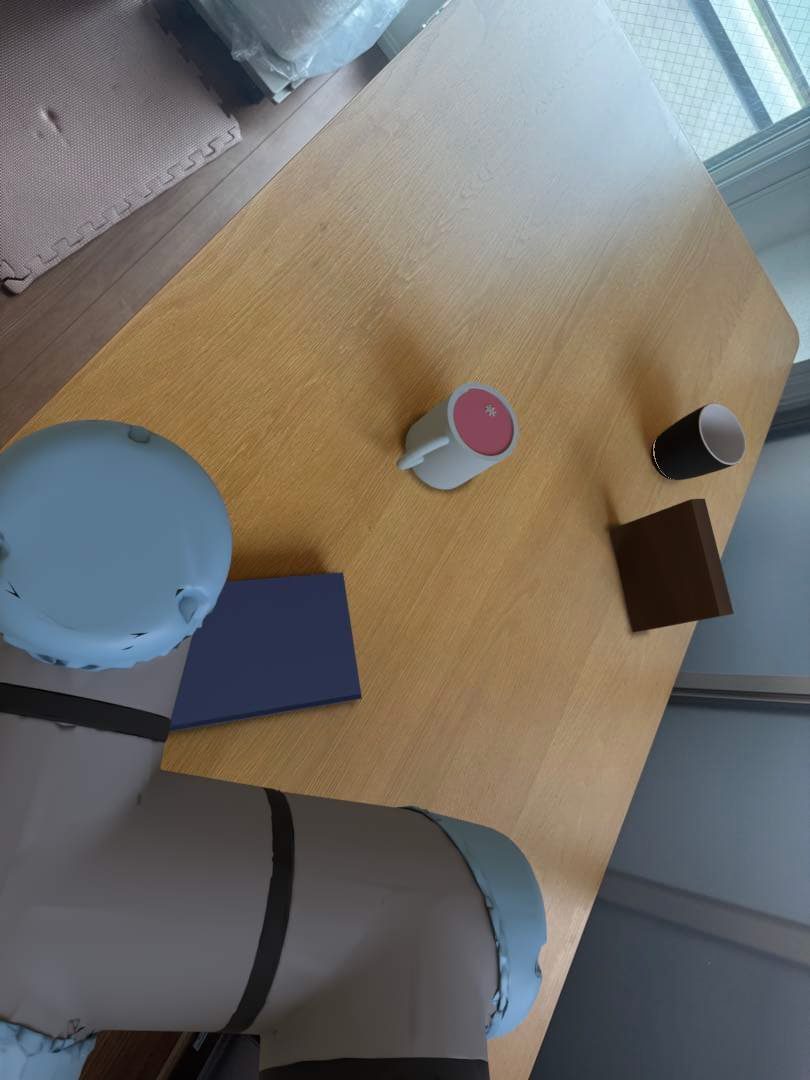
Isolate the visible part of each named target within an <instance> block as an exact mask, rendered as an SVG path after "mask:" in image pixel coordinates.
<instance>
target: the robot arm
mask: <svg viewBox="0 0 810 1080" xmlns="http://www.w3.org/2000/svg"><path fill="white" fill-rule="evenodd" d="M219 490H220V489H219V488H218V487H217V485H216V484H215V482H214V481H213V479H212V478H211V476H210V474H209V473H208V472H207V471H206V469H205V468H204V467H203V466H202V465H201V464H200V463H199V462H198V461H197V460H196V459H195V458H194V457H193V456H192V455H191V454H190V453H188V452H187V451H186V450H184V449H183V448H182V447H180V446H179V445H178V444H176V443H175V442H173V441H172V440H170V439H169V438H166V437H165V436H162V435H161V434H159V433H156V432H154V431H152V430H149V429H147V428H145V427H144V426H142V425H135V424H131V423H126V422H122V421H116V420H111V419H109V420H108V419H79V420H71V421H70V420H69V421H65V422H59V423H55V424H53V425H49V426H46V427H44V428H42V429H39V430H35V431H34V432H31V433H30V434H27V435H25V436H23V437H21V438H19V439H18V440H16V441H15V442H13V443H11V444H10V445H9V446H8V447H6V448H5V449H4V450H3V451H1V452H0V1080H79V1079H80V1076H81V1073H82V1071H83V1067H84V1065H85V1063H86V1060H87V1058H88V1056H89V1054H91V1052H92V1051H93V1050H94V1049H95V1046H96V1042H97V1039H98V1038H97V1037H98V1032H101V1031H135V1032H136V1031H143V1032H144V1031H145V1032H146V1031H147V1032H188V1033H189V1032H191V1033H192V1032H194V1033H196V1032H197V1033H212V1034H213V1033H215V1034H234V1035H235V1034H236V1035H238V1034H241V1035H242V1034H243V1035H259V1037H260V1040H259V1063H258V1064H259V1066H258V1067H259V1068H258V1079H257V1080H491V1076H490V1065H489V1054H488V1053H489V1051H488V1040H493V1039H498V1038H500V1037H504V1036H506V1035H508V1034H509V1033H511V1032H513V1031H514V1030H515V1029H517V1027H518V1026H519V1025H521V1024H522V1023H523V1022H524V1021H525V1019H526V1018H527V1016H528V1015H529V1013H530V1011H531V1010H532V1008H533V1006H534V1004H535V1003H536V1002H535V1001H536V1000H537V997H538V995H539V992H540V989H541V986H542V982H543V973H542V969H541V965H540V963H539V958H540V954H541V951H542V948H543V947H544V946H545V945H546V944H547V942H548V928H547V915H546V910H545V909H546V908H545V903H544V902H545V901H544V897H543V894H542V891H541V887H540V885H539V882H538V880H537V877H536V875H535V872H534V870H533V868H532V865H531V863H530V862H529V860H528V858H527V857H526V855H525V853H523V851H522V850H521V849H520V848H519V846H518V845H517V844H516V843H515V842H514V841H513V840H512V839H511V838H510V837H509V836H507V835H505V834H504V833H503V832H500V831H498V830H496V829H495V828H492V827H490V826H486V825H482V824H480V823H475V822H471V821H468V820H463V819H460V818H457V817H456V818H455V817H453V816H448V815H444V814H440V813H436V812H432V811H430V810H428V809H426V808H421V807H419V806H417V805H406V806H388V805H380V804H374V803H367V802H359V801H352V800H347V799H346V800H345V799H338V798H333V797H332V798H331V797H325V796H319V795H310V794H309V795H308V794H303V793H297V792H288V791H281V790H280V789H276V788H271V787H266V786H264V787H263V786H259V785H253V784H247V783H241V782H237V781H229V780H224V779H217V778H212V777H206V776H201V775H196V774H195V775H194V774H190V773H189V774H188V773H181V772H177V771H172V770H165V769H162V761H163V755H164V749H165V743H166V742H167V741H168V738H169V734H170V732H169V730H170V726H171V722H172V721H171V717H172V713H173V709H174V705H175V701H176V697H177V693H178V689H179V685H180V682H181V678H182V674H183V670H184V666H185V662H186V658H187V654H188V650H189V646H190V643H191V639H192V635H193V633H194V632H195V631H197V630H198V629H200V628H201V627H202V622H203V619H204V618H205V616H206V615H207V614H209V613H211V612H212V611H213V610H214V608H215V605H216V602H217V598H218V596H219V594H220V592H221V590H222V588H223V586H224V584H225V582H227V578H228V575H229V572H230V568H231V562H232V554H233V532H232V524H231V519H230V515H229V512H228V509H227V506H226V504H225V500H224V499H223V496H222V495H221V492H220V491H219Z"/></svg>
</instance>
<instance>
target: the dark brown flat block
mask: <svg viewBox="0 0 810 1080" xmlns="http://www.w3.org/2000/svg"><path fill="white" fill-rule="evenodd" d="M712 525H713V524H712V521H711V516H710V514H709V508H708V505H707V501H706V498H691V499H687V500H685V501H682V502H680V503H676V504H674V505H672V506H668V507H666V508H664V509H660V510H658V511H656V512H653V513H650V514H647V515H645V516H642V517H640V518H638V519H637V518H636V519H633V520H631V521H629V522H626V523H623V524H620V525H618V526H615V527H613V528H610V529H609V533H610V537H611V542H612V547H613V552H614V555H615V561H616V564H617V569H618V572H619V573H618V574H619V579H620V583H621V586H622V593H623V596H624V600H625V606H626V610H627V614H628V618H629V623H630V626H631V627H630V628H631V632H632V633H639V632H646V631H651V630H657V629H663V628H666V627H671V626H672V627H673V626H678V625H683V624H689V623H693V622H699V621H704V620H708V619H715V618H719V617H724V616H725V617H726V616H730V615H734V613H735V612H734V610H733V605H732V601H731V597H730V592H729V589H728V585H727V581H726V578H725V573H724V569H723V565H722V561H721V556H720V553H719V549H718V545H717V541H716V538H715V532H714V530H713V526H712Z"/></svg>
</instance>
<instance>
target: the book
mask: <svg viewBox="0 0 810 1080" xmlns="http://www.w3.org/2000/svg"><path fill="white" fill-rule="evenodd" d="M354 643H355V642H354V637H353V630H352V623H351V616H350V611H349V602H348V595H347V589H346V581H345V576H344V572H332V573H331V572H329V573H317V574H316V573H315V574H303V575H293V576H280V577H279V576H278V577H270V578H269V577H267V578H254V579H242V580H229V581H225V584H224V586H223V588H222V590H221V592H220V594H219V596H218V598H217V602H216V605H215V608H214V610H213V611H212V612H211V613H209V614H207V615H206V616H205V618H204V619H203V622H202V627H201V628H200V629H198V630H197V631H195V632H194V633H193V635H192V639H191V643H190V646H189V650H188V654H187V658H186V662H185V666H184V670H183V674H182V678H181V682H180V685H179V689H178V693H177V697H176V701H175V705H174V709H173V713H172V717H171V721H172V722H171V726H170V730H169V733H173V732H178V731H184V730H190V729H196V728H201V727H207V726H213V725H219V724H224V723H225V724H226V723H229V722H230V723H231V722H236V721H242V720H248V719H254V718H259V717H265V716H271V715H277V714H282V713H283V714H284V713H289V712H295V711H301V710H307V709H312V708H318V707H323V706H330V705H335V704H336V705H337V704H341V703H347V702H353V701H358V700H362V699H363V697H362V690H361V683H360V677H359V669H358V663H357V657H356V656H357V655H356V650H355V644H354Z"/></svg>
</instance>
